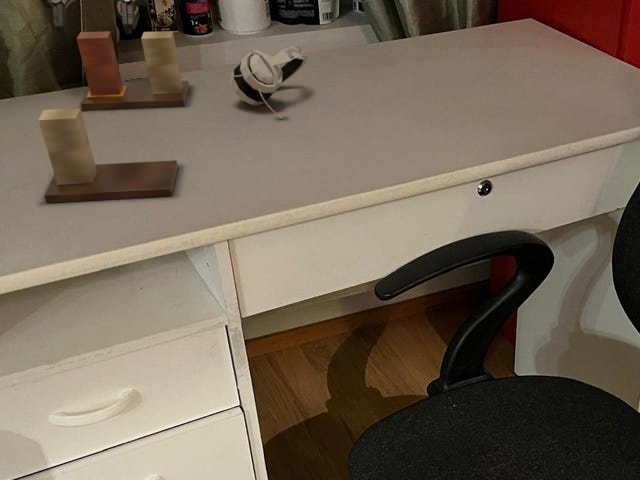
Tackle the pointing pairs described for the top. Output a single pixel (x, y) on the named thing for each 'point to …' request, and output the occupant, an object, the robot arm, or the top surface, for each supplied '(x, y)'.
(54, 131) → the cream block stand
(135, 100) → the upright block on base
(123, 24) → the robot arm
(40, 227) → the top surface
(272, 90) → the headphones
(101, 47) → the tall red-orange pillar
